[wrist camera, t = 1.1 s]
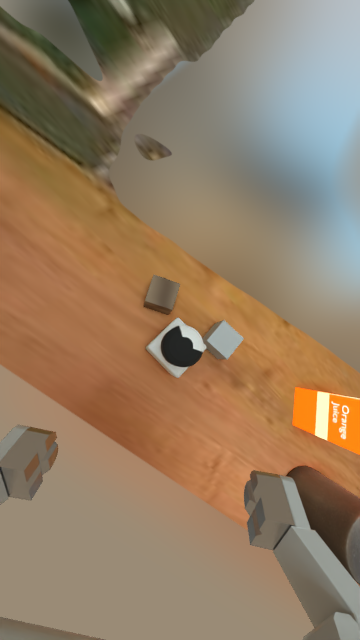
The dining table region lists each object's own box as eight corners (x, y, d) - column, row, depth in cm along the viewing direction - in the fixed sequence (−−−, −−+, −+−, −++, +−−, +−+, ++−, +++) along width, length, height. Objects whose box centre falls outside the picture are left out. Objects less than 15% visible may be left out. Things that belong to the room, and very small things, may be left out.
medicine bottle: (171, 375, 43) (184, 382, 31) (144, 348, 43) (148, 345, 31) (196, 348, 45) (218, 346, 33) (171, 322, 45) (184, 310, 33)
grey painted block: (199, 342, 45) (206, 340, 40) (214, 323, 46) (223, 320, 42) (217, 358, 45) (227, 359, 41) (232, 340, 47) (243, 338, 42)
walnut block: (143, 306, 44) (144, 300, 39) (151, 283, 45) (153, 274, 40) (168, 314, 45) (172, 309, 40) (175, 291, 46) (180, 283, 41)
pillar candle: (276, 515, 43) (350, 598, 28) (286, 460, 45) (359, 511, 30) (320, 523, 44) (411, 606, 30) (327, 470, 46) (417, 523, 32)
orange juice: (295, 386, 48) (405, 408, 28) (331, 392, 49) (460, 417, 30) (292, 425, 46) (406, 477, 27) (329, 431, 48) (463, 483, 28)
